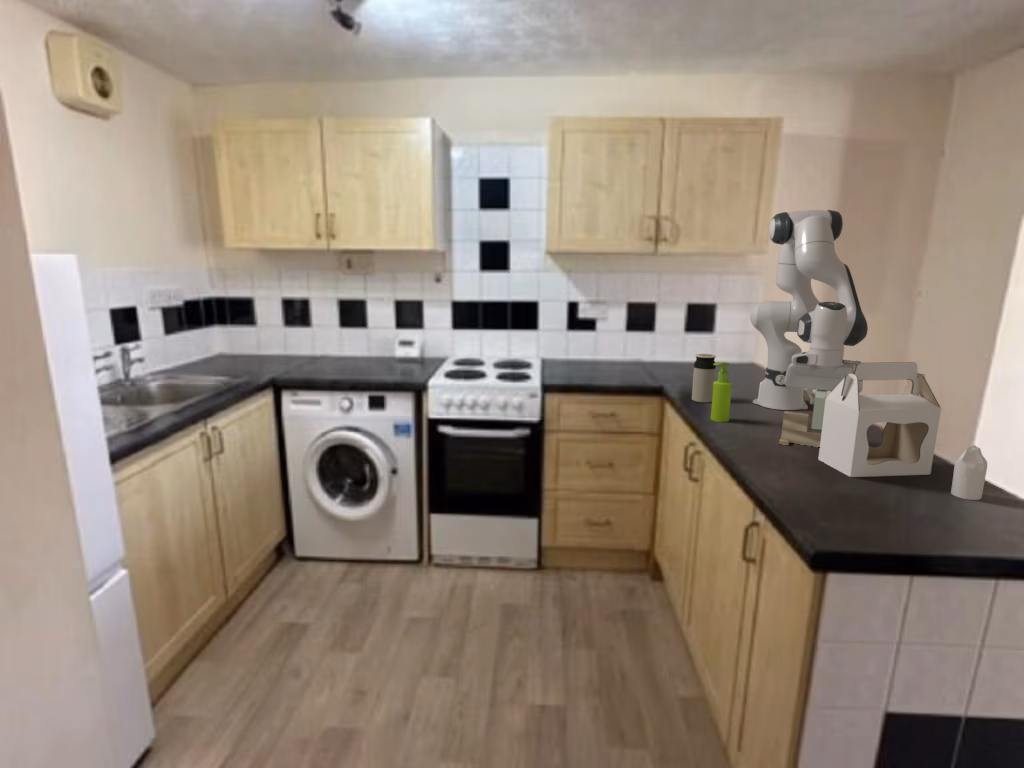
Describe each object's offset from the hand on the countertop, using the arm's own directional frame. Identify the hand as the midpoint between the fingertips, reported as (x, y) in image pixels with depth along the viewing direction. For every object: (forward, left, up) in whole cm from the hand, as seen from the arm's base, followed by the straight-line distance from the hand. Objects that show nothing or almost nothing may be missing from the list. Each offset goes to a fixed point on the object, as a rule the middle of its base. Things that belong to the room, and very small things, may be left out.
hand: (820, 404), depth 167 cm
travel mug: (-36, -41, -12) cm, 56 cm away
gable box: (+17, +14, -12) cm, 25 cm away
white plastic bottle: (+28, +32, -12) cm, 44 cm away
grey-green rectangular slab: (+5, 0, -5) cm, 7 cm away
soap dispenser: (-10, -30, -12) cm, 34 cm away
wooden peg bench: (+5, 0, -12) cm, 12 cm away
